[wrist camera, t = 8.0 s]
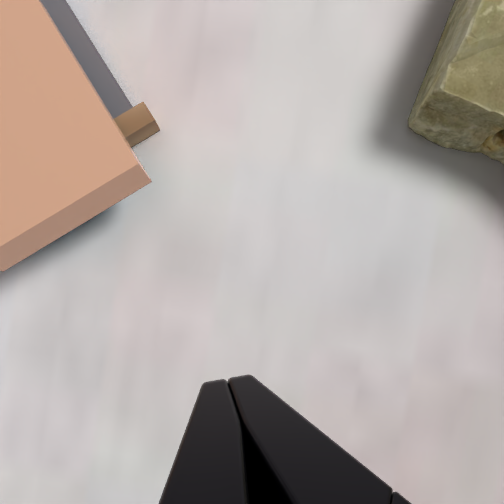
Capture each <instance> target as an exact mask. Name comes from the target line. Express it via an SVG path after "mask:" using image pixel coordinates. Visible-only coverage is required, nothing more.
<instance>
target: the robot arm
mask: <svg viewBox="0 0 504 504" xmlns="http://www.w3.org/2000/svg"><path fill="white" fill-rule="evenodd" d="M392 493H393V494H392ZM159 504H411V503H410V502H409V501H408V500H406V499H405V498H404V497H403V496H401V495H400V494H399V493H398V492H393V490H392V488H391V487H390V486H389V485H387V484H386V483H385V482H384V481H382V480H381V479H380V478H379V477H377V476H376V475H375V474H374V473H372V472H371V471H370V470H369V469H367V468H366V467H365V466H364V465H363V464H361V463H360V462H359V461H358V460H356V459H355V458H354V457H353V456H351V455H350V454H349V453H348V452H346V451H345V450H344V449H343V448H341V447H340V446H339V445H338V444H336V443H335V442H334V441H333V440H331V439H330V438H329V437H328V436H326V435H325V434H324V433H323V432H322V431H320V430H319V429H318V428H317V427H315V426H314V425H313V424H312V423H310V422H309V421H308V420H307V419H305V418H304V417H303V416H302V415H300V414H299V413H298V412H297V411H295V410H294V409H293V408H292V407H290V406H289V405H288V404H287V403H285V402H284V401H283V400H282V399H281V398H279V397H278V396H277V395H276V394H274V393H273V392H272V391H271V390H269V389H268V388H267V387H266V386H264V385H263V384H262V383H261V382H259V381H258V380H257V379H256V378H254V377H253V376H251V375H243V376H238V377H232V378H230V379H228V382H227V381H226V380H224V379H221V380H215V381H209V382H205V383H203V385H202V386H201V389H200V392H199V394H198V397H197V400H196V403H195V405H194V408H193V411H192V414H191V416H190V419H189V422H188V425H187V427H186V430H185V433H184V435H183V438H182V441H181V444H180V446H179V449H178V452H177V455H176V457H175V460H174V463H173V466H172V468H171V471H170V474H169V477H168V479H167V482H166V485H165V487H164V490H163V493H162V496H161V498H160V501H159Z"/></svg>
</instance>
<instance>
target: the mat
mask: <svg viewBox="0 0 504 504" xmlns="http://www.w3.org/2000/svg"><path fill="white" fill-rule="evenodd" d="M40 1H41V3H42V4H43V6H44V7H45V9H46V10H47V12H48V13H49V15H50V17H51V18H52V20H53V21H54V23H55V25H56V26H57V28H58V30H59V31H60V33H61V34H62V36H63V38H64V39H65V41H66V43H67V44H68V46H69V47H70V49H71V51H72V52H73V54H74V56H75V57H76V59H77V61H78V62H79V64H80V65H81V67H82V69H83V70H84V72H85V74H86V75H87V77H88V78H89V80H90V82H91V83H92V85H93V87H94V88H95V90H96V91H97V93H98V95H99V96H100V98H101V100H102V101H103V103H104V104H105V106H106V108H107V109H108V111H109V113H110V114H111V116H112V118H113V119H114V118H116V117H118V116H119V115H121V114H123V113H125V112H126V111H128V110H130V109H131V108H133V107H132V105H131V104H130V102H129V101H128V99H127V97H126V96H125V94H124V93H123V91H122V89H121V88H120V86H119V85H118V83H117V81H116V80H115V78H114V77H113V75H112V73H111V72H110V70H109V69H108V67H107V65H106V64H105V62H104V61H103V59H102V58H101V56H100V54H99V53H98V51H97V50H96V48H95V46H94V45H93V43H92V42H91V40H90V38H89V37H88V35H87V34H86V32H85V30H84V29H83V27H82V26H81V24H80V22H79V21H78V19H77V18H76V16H75V14H74V13H73V11H72V10H71V8H70V7H69V5H68V3H67V2H66V0H40Z"/></svg>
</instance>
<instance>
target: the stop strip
mask: <svg viewBox="0 0 504 504" xmlns="http://www.w3.org/2000/svg"><path fill="white" fill-rule="evenodd" d="M114 121H115V122H116V124H117V126H118V127H119V129H120V131H121V132H122V134H123V135H124V137H125V139H126V140H127V142H128V144H129V145H130V147H133V146H135V145H136V144H138V143H140V142H141V141H143V140H145V139H146V138H148V137H150V136H151V135H153V134H155V133H156V132H158V131H160V129H159V127H158V125H157V123H156V121H155V119H154V118H153V116H152V115H151V113H150V111H149V110H148V108H147V107H146V105H145V103H144V102H141V103H140V104H138V105H136V106H135V107H133V108H131V109H130V110H128V111H126V112H125V113H123V114H121V115H119V116H118V117H116V118H114Z"/></svg>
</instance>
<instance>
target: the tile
mask: <svg viewBox="0 0 504 504" xmlns="http://www.w3.org/2000/svg"><path fill="white" fill-rule="evenodd" d="M151 182H152V181H151V179H150V178H149V176H148V175H147V173H146V171H145V170H144V168H143V166H142V165H141V163H140V161H139V160H138V158H137V157H136V155H135V153H134V152H133V150H132V148H131V147H130V145H129V144H128V142H127V140H126V139H125V137H124V135H123V134H122V132H121V131H120V129H119V127H118V126H117V124H116V122H115V121H114V119H113V118H112V116H111V114H110V113H109V111H108V109H107V108H106V106H105V104H104V103H103V101H102V100H101V98H100V96H99V95H98V93H97V91H96V90H95V88H94V87H93V85H92V83H91V82H90V80H89V78H88V77H87V75H86V74H85V72H84V70H83V69H82V67H81V65H80V64H79V62H78V61H77V59H76V57H75V56H74V54H73V52H72V51H71V49H70V47H69V46H68V44H67V43H66V41H65V39H64V38H63V36H62V34H61V33H60V31H59V30H58V28H57V26H56V25H55V23H54V21H53V20H52V18H51V17H50V15H49V13H48V12H47V10H46V9H45V7H44V6H43V4H42V3H41V1H40V0H0V271H5V270H7V269H8V268H10V267H12V266H13V265H15V264H17V263H18V262H20V261H22V260H23V259H25V258H27V257H28V256H30V255H32V254H33V253H35V252H36V251H38V250H40V249H41V248H43V247H45V246H46V245H48V244H50V243H51V242H53V241H55V240H56V239H58V238H60V237H61V236H63V235H65V234H66V233H68V232H70V231H71V230H73V229H75V228H76V227H78V226H79V225H81V224H83V223H84V222H86V221H88V220H89V219H91V218H93V217H94V216H96V215H98V214H99V213H101V212H103V211H104V210H106V209H108V208H109V207H111V206H113V205H114V204H116V203H117V202H119V201H121V200H122V199H124V198H126V197H127V196H129V195H131V194H132V193H134V192H136V191H137V190H139V189H141V188H142V187H144V186H146V185H147V184H149V183H151Z"/></svg>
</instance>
